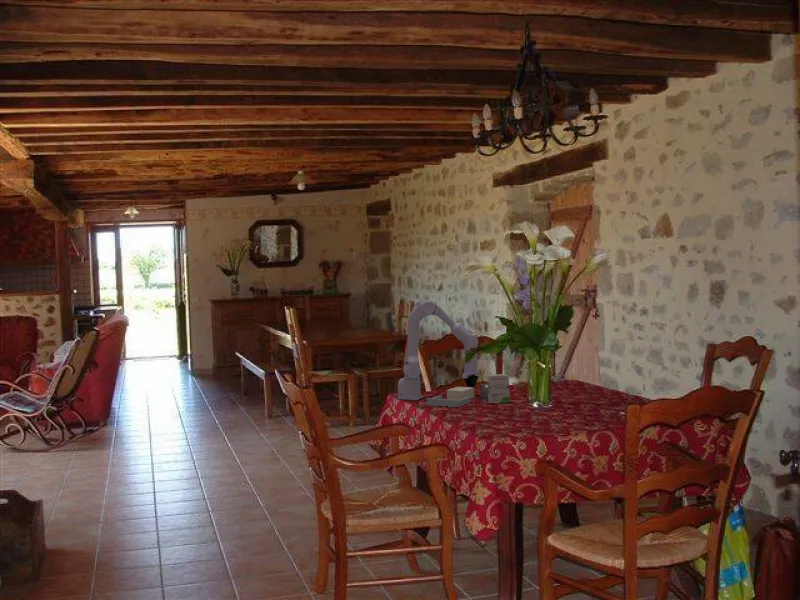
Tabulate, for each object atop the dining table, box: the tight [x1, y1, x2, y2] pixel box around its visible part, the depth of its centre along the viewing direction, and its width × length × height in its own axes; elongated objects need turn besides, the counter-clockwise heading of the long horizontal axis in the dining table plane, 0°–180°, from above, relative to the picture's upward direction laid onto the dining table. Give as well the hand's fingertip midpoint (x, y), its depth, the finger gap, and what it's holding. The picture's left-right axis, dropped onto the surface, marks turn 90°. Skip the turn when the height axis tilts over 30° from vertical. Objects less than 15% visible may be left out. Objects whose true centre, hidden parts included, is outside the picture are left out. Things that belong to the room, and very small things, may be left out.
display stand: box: [426, 394, 471, 408], centre depth 369 cm, size 14×12×3 cm
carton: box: [446, 386, 475, 400], centre depth 380 cm, size 8×10×5 cm
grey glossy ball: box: [479, 383, 488, 400], centre depth 381 cm, size 6×6×6 cm
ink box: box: [487, 373, 511, 404], centre depth 371 cm, size 9×5×12 cm, turn 94°
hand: (471, 392), depth 390 cm, fingers closed
